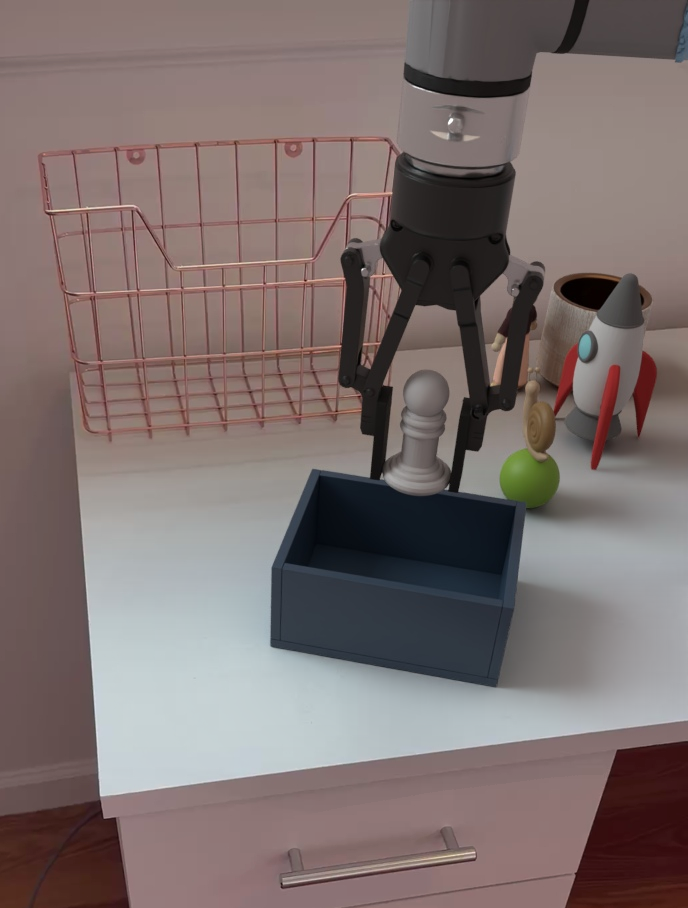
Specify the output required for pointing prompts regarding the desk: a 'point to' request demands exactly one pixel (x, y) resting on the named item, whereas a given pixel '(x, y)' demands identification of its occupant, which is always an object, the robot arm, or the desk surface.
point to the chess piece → (420, 437)
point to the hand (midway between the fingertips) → (416, 476)
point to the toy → (608, 370)
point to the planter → (575, 317)
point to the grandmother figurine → (497, 345)
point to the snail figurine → (532, 454)
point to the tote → (398, 577)
